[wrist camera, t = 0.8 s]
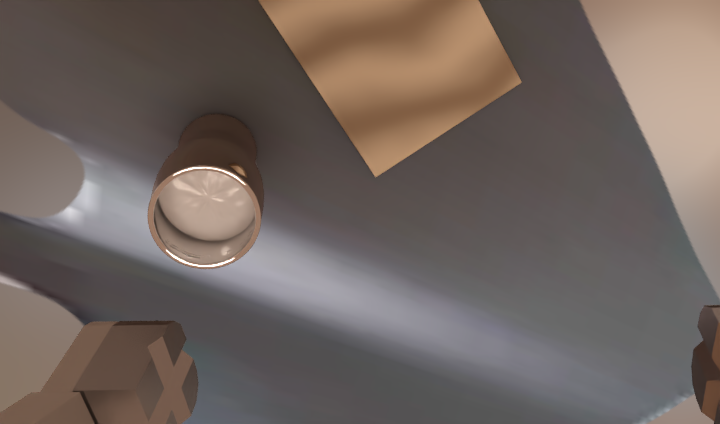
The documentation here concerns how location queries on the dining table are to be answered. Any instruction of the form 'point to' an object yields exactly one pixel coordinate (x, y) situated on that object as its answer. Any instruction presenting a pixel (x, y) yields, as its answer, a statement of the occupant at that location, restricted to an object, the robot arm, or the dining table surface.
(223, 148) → the beer glass
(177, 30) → the dining table surface
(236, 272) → the dining table surface
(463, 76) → the placemat
